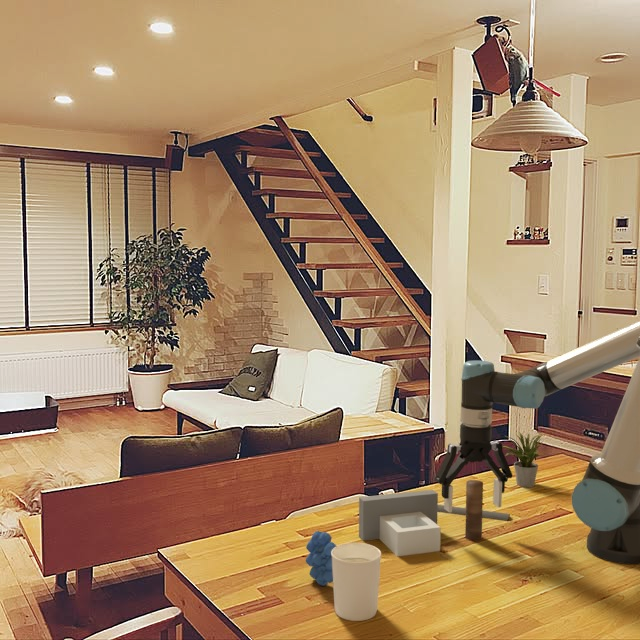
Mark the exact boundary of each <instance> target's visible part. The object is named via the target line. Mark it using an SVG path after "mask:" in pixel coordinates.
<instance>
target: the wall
mask: <svg viewBox="0 0 640 640" xmlns="http://www.w3.org/2000/svg"><path fill="white" fill-rule="evenodd" d="M438 496H439V492H436V491H435V490H433V489H428V490H416V491H408V492H398V493H397V492H396V493H388V494H378V495H369V496H360V497H358V537H359V538H360V539H361V541H363V542H365V541H372V540H373V541H374V540H380V516H387V515H396V514H405V513H414V512H422V513H423V514H424V515H426V516H427V517H428V518H429V519H431V520H432V521H433V522H434V523H436V524H437V525H438V512H437V510H438V505H439V503H438V502H439V499H438V498H439V497H438Z"/></svg>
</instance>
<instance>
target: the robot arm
mask: <svg viewBox="0 0 640 640" xmlns="http://www.w3.org/2000/svg"><path fill="white" fill-rule="evenodd" d="M635 359H638V360H637V363H636V366H635V368H634V370H633V373H632V376H631V378H630V380H629V383H628V386H627V388H626V391H625V392H624V395H623V398H622V401H621V403H620V404H619V405H620V406H619V408H618V410H617V413H616V415H615V417H614V421H613V422H612V425H611V428H610V431H609V433H608V435H607V437H606V440H605V443H604V445H603V446H602V447H603V448H602V450H601V452H600V453H599V454H596V455H593V456H592V457H591V458H590V460H589V463H588V465H587V468H586V470H585V473H584V475H583V477H582V479H581V481H579V482H578V483H577V484H576V486H575V487H574V489H573V491H572V494H571V506H572V510H574V513H575V515H576V517H577V518H578V519H579V520H580V521H581V522H582V523H583V524H585V525H586V526H587V527H589V528H590V531H589V533H588V535H587V536H586V537H587V538H586V549H587V550H588V551H589V552H590V553H591V554H592V555H594V556H595V557H598V558H600V559H602V560H606V561H609V562H613V563H618V564H626V565H640V319H639V320H637V321H634V322H633V323H629V324H627V325H626V326H623V327H621V328H619V329H617V330H615V331H612V332H609V333H608V334H605V335H603V336H601V337H599V338H596V339H595V340H594V339H593V340H592V341H590V342H588V343H586V344H583V345H581V346H579V347H577V348H575V349H573V350H570V351H568V352H565V353H563V354H561V355H558V356H556V357H555V358H552V359H549V360H548V361H545V362H542V363H541V364H539V365H537V366H534V367H531V368H529V369H526V370H523V371H519V372H517V373H508V372H499V371H496V370H495V365H494V363H493V362H491V361H488V360H487V361H486V360H480V359H479V360H467V361H466V362H464V363H463V366H462V373H461V379H460V380H461V403H460V404H461V405H460V426H459V441H460V442H459V444H458V445H457V444H452V443H449V444H448V445H447V451H446V454H445V456H444V458H443V460H442V462H441V465H440V466H439V469H438V471H437V472H436V475H435V477H434V482H436V483H438V484H439V485H441V497H442V498H444V503H443V505H444V509H445V510H446V511H448V512H449V513H448V514H450V512H452V506H453V496H454V495H453V493H454V487H453V485H452V483H453V481H454V480H455V479H456V478H457V476H458V475H459V473H461V471H462V470H463V469H464V467H465V466H468V463H471V464H472V463H476V462H478V463H482V462H483V461H484V463H486V465H487V466H488V468H489V470H491V471H492V473H493V475H495V476H496V478H493V492H492V493H493V495H492V505H494V506H496V507H497V508H502V498H503V497H502V496H503V494H505V488H506V486H505V485H506V483H507V482H508V481H509V480H508V479H511V478H513V473H512V470H511V468H510V465H509V464H508V463H509V462H508V461H507V458H506V456H505V454H504V451H503V450H504V449H503V447H502V446H503V443H502V442H501V441H498V440H493V441H492V442H491V440H492V430H493V429H492V426H491V424H492V422H493V421H492V420H493V404H498V405H499V404H500V405H504V406H511V407H518V408H521V409H532V410H534V409H538V408H540V406H541V405H542V403H543V402H544V399H545V397H547V396H550V395H552V394H554V393H556V392H558V391H560V390H563V389H565V388H567V387H570V386H573V385H575V384H577V383H579V382H582V381H584V380H587V379H589V378H591V377H593V376H596V375H598V374H601V373H605V372H607V371H609V370H611V369H613V368H615V367H618V366H620V365H623V364H626V363H628V362H630V361H632V360H635ZM491 450H492V451H493V454H494V455H495V458H496V460H497V462H498V465H499V466H498V465H497V464H496V463H495V461H494V460H493V458H492V457H491V455H490V454H489V453H490V452H491ZM459 452H460V453H459ZM458 454H459V455H458ZM457 455H458V456H457ZM455 458H456V460H455ZM499 467H500V468H499Z"/></svg>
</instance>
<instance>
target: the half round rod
mask: <svg viewBox="0 0 640 640" xmlns="http://www.w3.org/2000/svg"><path fill="white" fill-rule="evenodd" d="M437 513H444V514H452V515H457V516H458V515H459V516H465V517H466V507H459V506H453V505H452V512H450V513H449V512H448V511H446V510H445V509H444V504H438V510H437ZM509 517H510V513H507V512H497V511H491V510H490V511H489V510H483V509H482V519H489V520H497V521H505V522H508V520H509Z"/></svg>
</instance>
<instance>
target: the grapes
mask: <svg viewBox="0 0 640 640" xmlns="http://www.w3.org/2000/svg"><path fill="white" fill-rule="evenodd" d="M332 538H333V537H332V535H330V533H329V532H326V531H324V532H321V531H320V530H315V531H314V533H312V535H311V539H310V540H309V541H308V542H307V544H306V546H305V547H306V550H307V551H308V552H309V553H308V555H307V557H306V558H305V563H306V564H307V565H308V566H310V567H311V569H310V571H309V575H310V577H311V578H312V579H314V580H316V583H317V584H318V585H320V586H322V587H325V586H326V585H328V584H331V583H333V572H332V556H331V551H332V549H333V548H334V547H336V546H337V545H336V543H334V542H332Z"/></svg>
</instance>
